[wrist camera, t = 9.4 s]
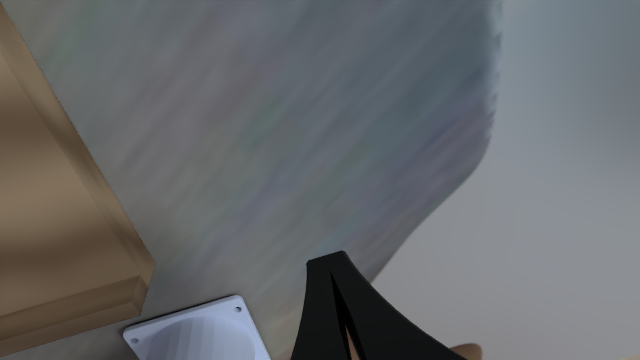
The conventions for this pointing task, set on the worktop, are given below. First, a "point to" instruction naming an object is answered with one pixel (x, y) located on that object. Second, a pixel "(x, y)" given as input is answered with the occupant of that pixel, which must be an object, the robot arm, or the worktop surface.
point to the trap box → (56, 218)
